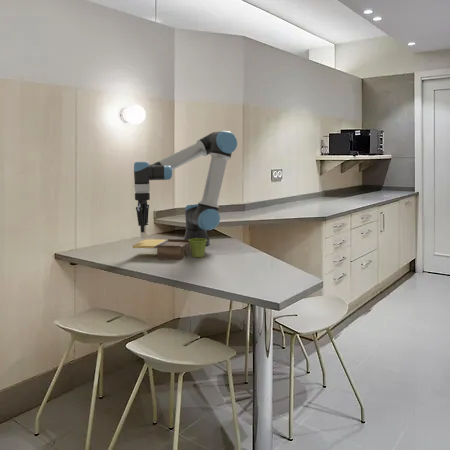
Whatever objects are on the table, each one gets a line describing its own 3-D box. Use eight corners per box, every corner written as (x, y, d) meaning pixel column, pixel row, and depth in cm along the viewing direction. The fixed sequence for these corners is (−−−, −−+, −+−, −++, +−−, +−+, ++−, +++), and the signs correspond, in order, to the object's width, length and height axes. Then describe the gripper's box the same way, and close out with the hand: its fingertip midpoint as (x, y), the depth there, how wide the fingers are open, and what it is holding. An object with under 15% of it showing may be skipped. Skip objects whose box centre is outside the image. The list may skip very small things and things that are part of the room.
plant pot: (197, 253, 259) (197, 237, 258) (211, 256, 253) (211, 239, 252) (185, 257, 252) (184, 240, 251) (198, 259, 246) (198, 242, 245)
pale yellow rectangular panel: (156, 246, 246) (132, 245, 249) (156, 248, 247) (132, 248, 249) (168, 239, 264) (145, 239, 267) (168, 241, 264) (145, 241, 267)
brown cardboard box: (180, 259, 245) (180, 245, 244) (157, 259, 248) (156, 245, 246) (190, 252, 262) (190, 239, 261) (168, 251, 265) (168, 238, 264)
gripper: (139, 191, 261) (141, 235, 264) (130, 193, 248) (131, 240, 251) (153, 191, 259) (154, 236, 263) (144, 193, 247) (146, 240, 250)
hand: (143, 238), depth 257 cm, fingers closed
